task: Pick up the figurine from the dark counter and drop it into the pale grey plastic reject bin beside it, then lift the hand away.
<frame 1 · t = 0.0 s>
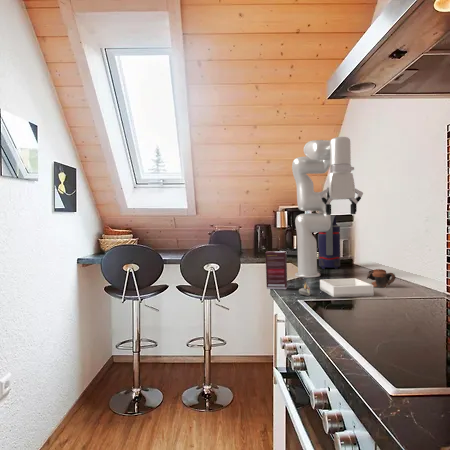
hand: (341, 214, 145), 31 cm above the countertop, fingers open, 9 cm apart
supplement box: (276, 288, 161), on the countertop
figurine: (305, 295, 146), on the countertop
brown two-tone ridged part: (381, 286, 161), on the countertop
reject bin: (345, 292, 150), on the countertop
navy blue canister: (329, 268, 215), on the countertop
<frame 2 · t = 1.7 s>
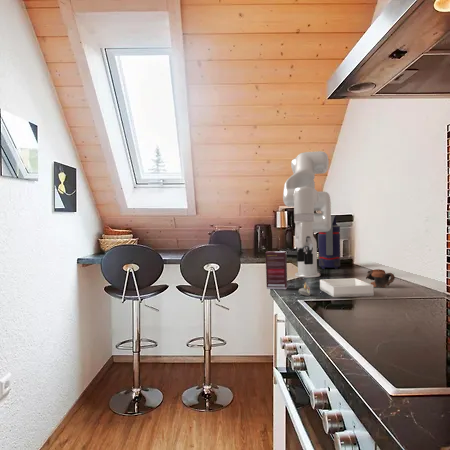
hand: (304, 262, 146), 13 cm above the countertop, fingers open, 9 cm apart
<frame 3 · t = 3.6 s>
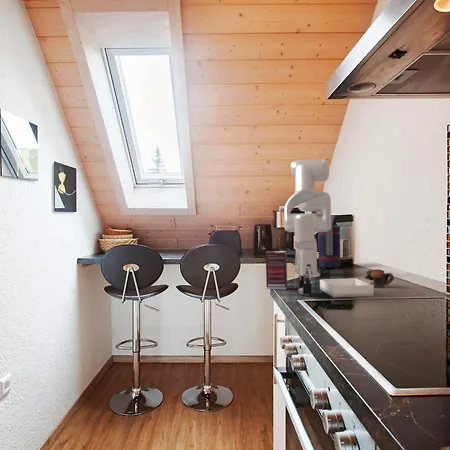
hand: (305, 291, 146), 1 cm above the countertop, fingers closed on figurine, 4 cm apart
figurine: (304, 295, 147), on the countertop, touching gripper
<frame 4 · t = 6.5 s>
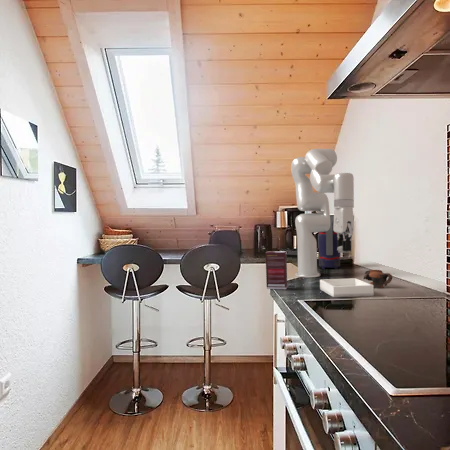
hand: (344, 249, 149), 17 cm above the countertop, fingers closed on figurine, 4 cm apart
figurine: (343, 253, 150), point 16 cm above the countertop, touching gripper
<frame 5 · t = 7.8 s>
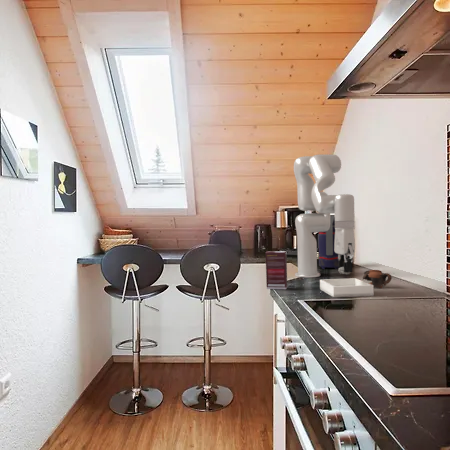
hand: (345, 270, 149), 9 cm above the countertop, fingers closed on figurine, 4 cm apart
figurine: (345, 274, 150), point 7 cm above the countertop, touching gripper
when the fingers open (5 cm above the countertop, at t = 9.1 s): figurine drops 3 cm, resting on reject bin.
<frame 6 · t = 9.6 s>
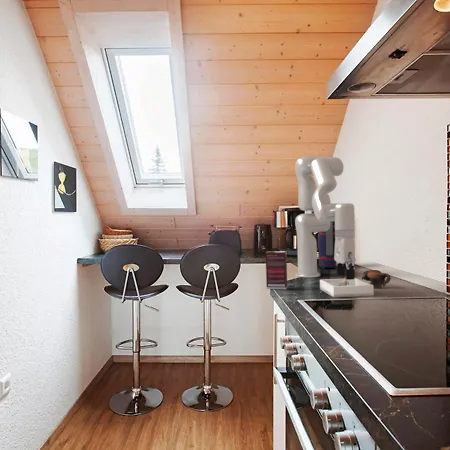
hand: (345, 277, 150), 6 cm above the countertop, fingers open, 9 cm apart
figurine: (344, 290, 150), point 1 cm above the countertop, touching reject bin
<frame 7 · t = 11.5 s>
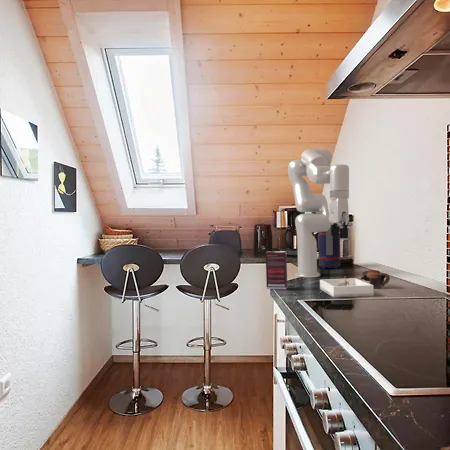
hand: (339, 236, 154), 22 cm above the countertop, fingers open, 9 cm apart
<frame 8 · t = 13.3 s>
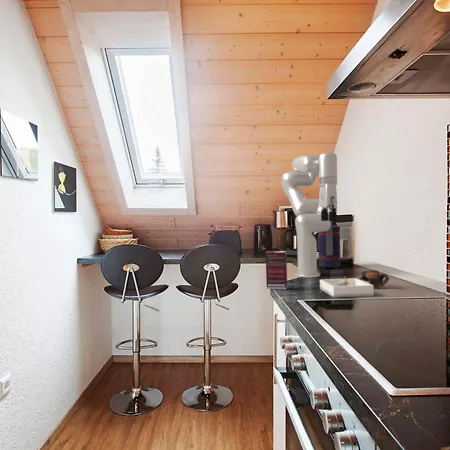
hand: (328, 221, 164), 28 cm above the countertop, fingers open, 9 cm apart
at the end: figurine 0.4 cm from the reject bin (horizontally); figurine touching reject bin; the gripper is holding nothing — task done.
